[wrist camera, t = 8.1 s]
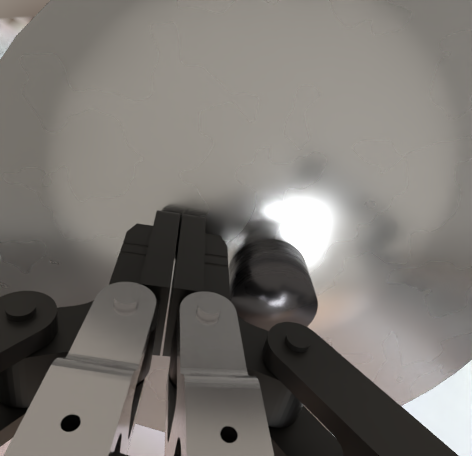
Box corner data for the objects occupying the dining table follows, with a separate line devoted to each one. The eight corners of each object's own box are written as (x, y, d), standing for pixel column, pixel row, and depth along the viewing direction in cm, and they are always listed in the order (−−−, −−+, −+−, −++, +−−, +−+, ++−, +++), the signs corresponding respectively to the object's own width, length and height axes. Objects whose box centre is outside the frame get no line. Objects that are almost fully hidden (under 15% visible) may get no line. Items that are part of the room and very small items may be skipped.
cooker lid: (400, 426, 21) (429, 496, 18) (8, 391, 18) (-30, 466, 15) (795, -175, 9) (1044, -245, 7) (-101, -493, 7) (-324, -832, 4)
